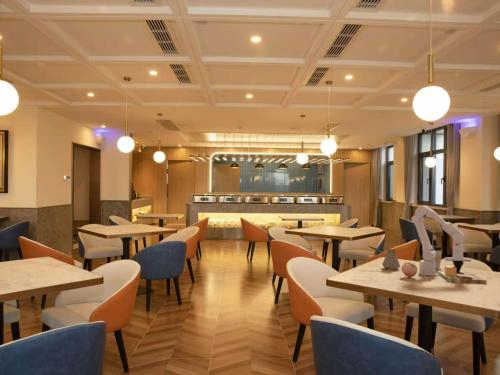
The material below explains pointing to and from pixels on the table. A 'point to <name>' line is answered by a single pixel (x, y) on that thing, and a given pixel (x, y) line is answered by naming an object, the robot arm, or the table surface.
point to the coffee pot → (389, 259)
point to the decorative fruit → (409, 269)
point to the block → (450, 270)
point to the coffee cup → (438, 255)
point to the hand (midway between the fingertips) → (457, 273)
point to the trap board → (463, 277)
